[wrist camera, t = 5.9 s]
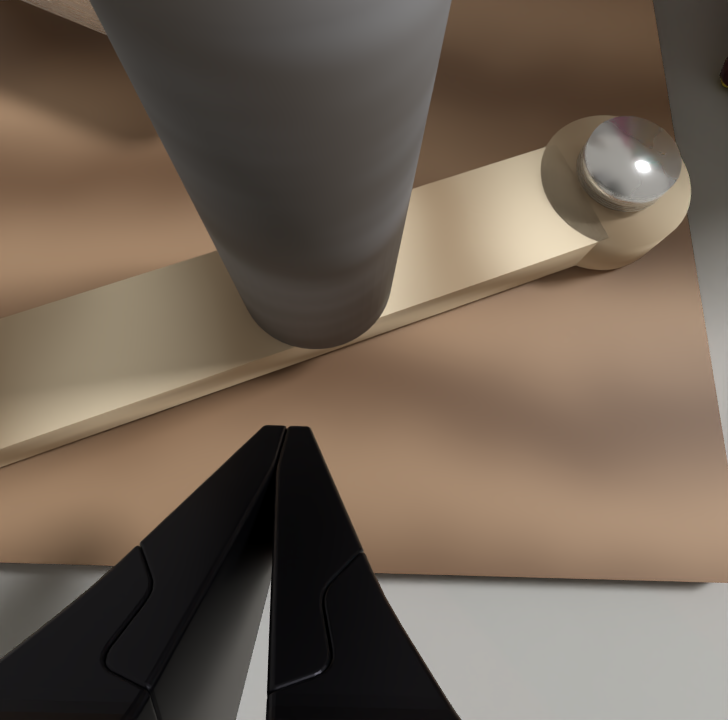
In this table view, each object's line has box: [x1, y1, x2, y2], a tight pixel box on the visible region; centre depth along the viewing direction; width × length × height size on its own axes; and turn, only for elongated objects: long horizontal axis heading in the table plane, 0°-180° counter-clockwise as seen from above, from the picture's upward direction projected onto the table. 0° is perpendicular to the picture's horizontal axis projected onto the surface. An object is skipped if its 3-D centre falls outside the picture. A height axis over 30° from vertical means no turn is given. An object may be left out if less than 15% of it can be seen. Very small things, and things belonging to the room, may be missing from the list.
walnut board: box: [0, 0, 728, 583], centre depth 18 cm, size 24×28×1 cm
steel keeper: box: [21, 0, 682, 212], centre depth 17 cm, size 26×5×4 cm, turn 66°
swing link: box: [0, 0, 691, 467], centre depth 11 cm, size 24×5×12 cm, turn 111°
